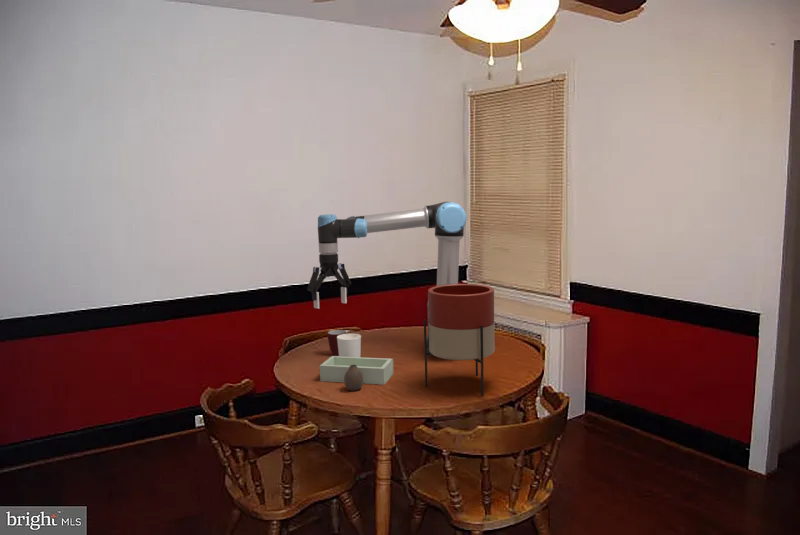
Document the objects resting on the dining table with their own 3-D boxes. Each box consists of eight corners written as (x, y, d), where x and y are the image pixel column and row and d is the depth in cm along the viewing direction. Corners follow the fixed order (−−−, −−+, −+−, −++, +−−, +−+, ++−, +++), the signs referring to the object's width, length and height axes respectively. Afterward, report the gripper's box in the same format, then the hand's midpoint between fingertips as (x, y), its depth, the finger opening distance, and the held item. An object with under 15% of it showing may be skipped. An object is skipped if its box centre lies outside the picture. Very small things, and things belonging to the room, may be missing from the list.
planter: (425, 376, 241) (422, 284, 236) (491, 374, 240) (490, 283, 235) (425, 397, 217) (423, 296, 212) (498, 396, 217) (498, 294, 212)
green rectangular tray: (393, 373, 245) (392, 358, 244) (384, 384, 232) (383, 368, 231) (332, 370, 251) (331, 356, 250) (320, 381, 238) (319, 365, 237)
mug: (353, 351, 277) (352, 329, 276) (352, 357, 269) (351, 334, 268) (329, 352, 278) (328, 330, 276) (327, 357, 270) (326, 334, 268)
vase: (344, 386, 231) (343, 363, 230) (363, 385, 232) (362, 362, 231) (344, 392, 225) (343, 368, 223) (363, 391, 225) (363, 367, 224)
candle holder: (365, 362, 261) (364, 334, 259) (356, 369, 252) (355, 340, 250) (344, 360, 264) (342, 332, 262) (334, 367, 255) (332, 338, 253)
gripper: (347, 249, 263) (349, 299, 266) (296, 255, 247) (299, 309, 250) (358, 251, 258) (360, 302, 261) (307, 257, 241) (310, 311, 244)
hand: (330, 305), depth 255 cm, fingers open, 13 cm apart
